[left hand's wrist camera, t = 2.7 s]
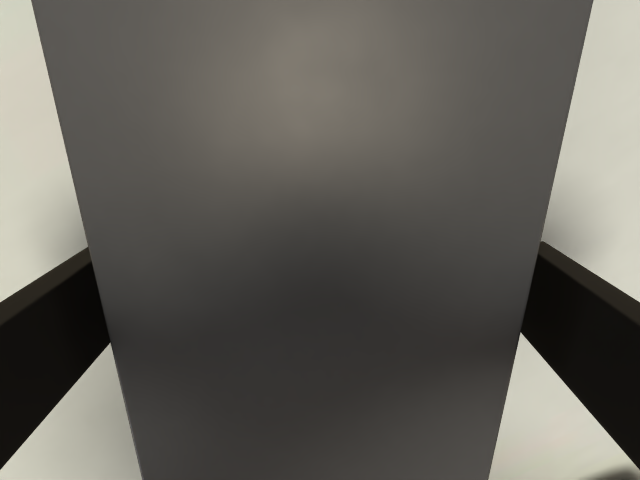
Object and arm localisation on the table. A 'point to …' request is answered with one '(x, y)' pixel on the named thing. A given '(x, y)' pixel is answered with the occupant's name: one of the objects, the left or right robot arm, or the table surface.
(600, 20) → the table surface
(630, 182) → the table surface
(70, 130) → the thick board
